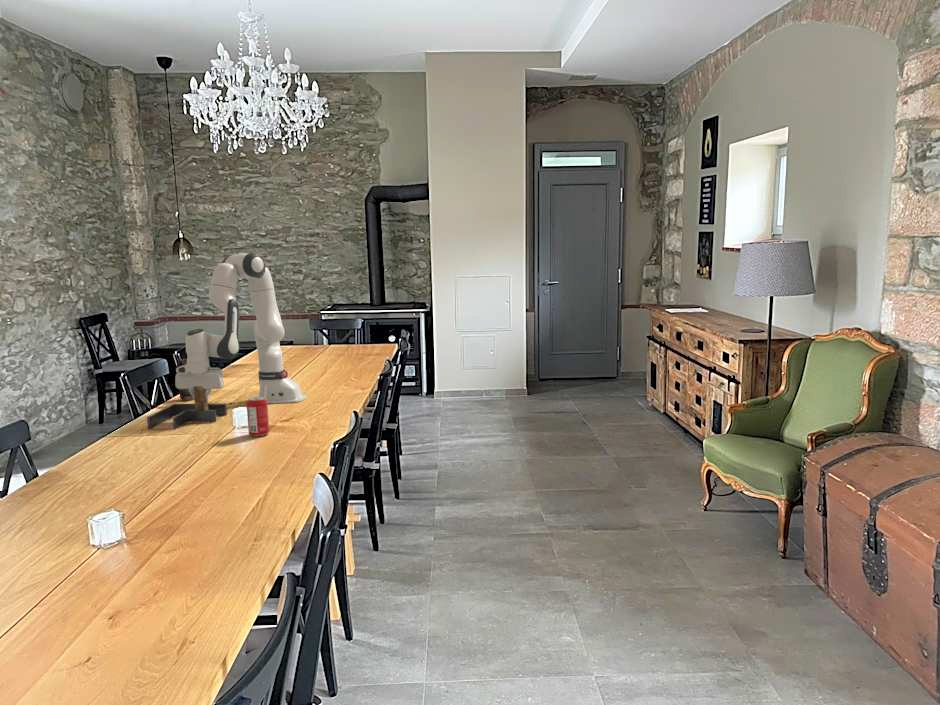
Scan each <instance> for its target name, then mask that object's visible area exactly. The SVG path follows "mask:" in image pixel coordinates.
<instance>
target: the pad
mask: <svg viewBox="0 0 940 705" xmlns="http://www.w3.org/2000/svg"><path fill="white" fill-rule="evenodd" d="M153 429H174V427H173V422H162V423H161V424H159V425H157V426H155V427H153Z"/></svg>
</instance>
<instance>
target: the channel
mask: <svg viewBox="0 0 940 705" xmlns="http://www.w3.org/2000/svg"><path fill="white" fill-rule="evenodd" d="M227 415H228V411H227V403H208V410H195V403H172V404H169V406H166V407H165V408H162V409H160V410H158V411H156V412H154V413H152V414H150V415H149V416H146V422H147V424H146V425H147V429H148V430H152V429H154V427H156V426H158V425H160V424H161V423H165V422H167V421H168V420H170V419H171V418H172V423H173V427H174V428H173V430H177V429H179V428H181V427H182V426H184V425H186V424H187V423H216V422H217V416H227Z"/></svg>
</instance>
